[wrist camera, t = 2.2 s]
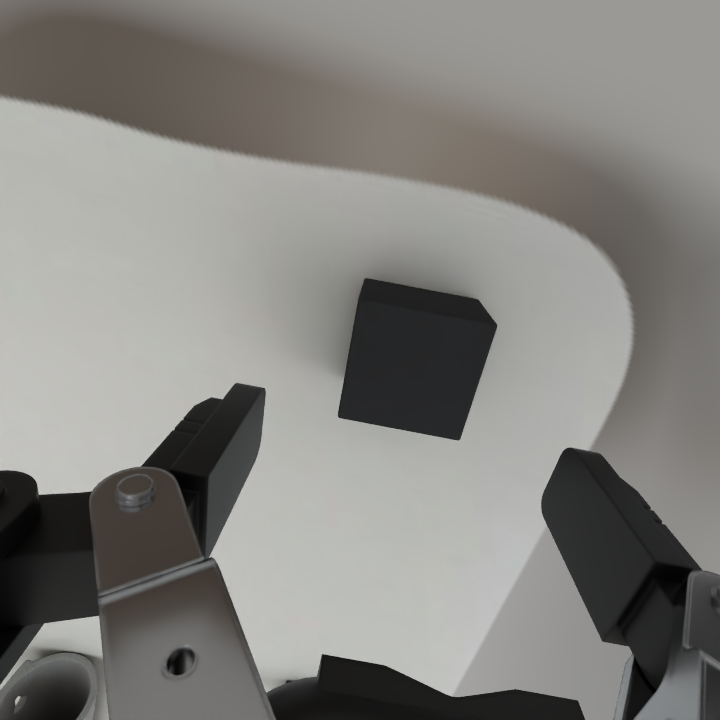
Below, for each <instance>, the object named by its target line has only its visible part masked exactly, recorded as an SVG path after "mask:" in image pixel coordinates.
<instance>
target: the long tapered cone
mask: <svg viewBox="0 0 720 720" xmlns="http://www.w3.org/2000/svg"><path fill="white" fill-rule="evenodd" d="M97 689H98V676H97V672H96V669H95V667H94V665H93V664H92V662H91V661H90V660H88V659H87V658H86V657H84V656H82V655H79V654H76V653H58V654H53V655H50V656H47V657H44V658H41V659H39V660H37V661H30V660H26V661H25V662H24V663H23V664H22V665H21V666H20V668H19V669H18V670H17V671H16V672H15V674H14V675H13V676H12V677H11V678H10V679H9V681H8V682H7V683H6V684H5V685H4V687H3V688H2V689H1V690H0V720H93V719H94V711H95V705H96V698H97ZM18 696H21V697H20V700H19V702H18V703H17V705H16V706H15V699H16V698H17V697H18Z"/></svg>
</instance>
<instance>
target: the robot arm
mask: <svg viewBox="0 0 720 720" xmlns="http://www.w3.org/2000/svg"><path fill="white" fill-rule="evenodd" d="M265 396H266V392H265V388H261V387H256V386H251V385H245V384H240V383H236V384H234V386H233V387H232V388H231V389H230V391H229V392H228V393H227V395H226V396H225V397H224V399H223V400H222V399H217V398H212V397H211V398H209V399H207V400H205V401H203V402H201V403H199V404H197V405H195V406H194V407H193V408H192V409H191V410H190V411H189V413H188V414H187V415H186V416H185V417H184V420H182V421H181V422H180V423H179V424H178V425H177V426H176V427H175V430H174V431H172V432H171V433H170V434H169V435H168V436H167V438H166V439H165V440H164V441H163V442H162V443H161V444H160V446H159V447H158V448H157V449H156V450H155V451H154V452H153V454H152V455H151V456H150V457H149V458H148V459H147V460H146V461H145V463H144V464H143V465H142V466H141V467H135V468H129V469H126V470H122V471H119V472H117V473H114V474H112V475H110V476H109V477H107V478H105V479H104V480H102V481H101V482H100V483H99V484H98V485H97V486H96V487H95V488H94V489H93V491H92V492H83V493H66V494H48V495H39V493H38V487H37V483H36V481H35V480H34V479H33V477H31V476H30V475H28V474H25V473H23V472H18V471H9V470H6V471H0V684H1V683H2V682H3V680H4V679H5V677H6V676H7V675H8V673H9V672H10V670H11V669H12V668H13V666H14V665H15V663H16V662H17V661H18V659H19V658H20V656H21V655H22V654H23V652H24V651H25V649H26V648H27V647H28V645H29V644H30V642H31V641H32V640H33V638H34V637H35V635H36V634H37V633H38V631H39V630H40V628H41V627H42V626H43V624H44V623H49V622H56V621H64V620H71V619H78V618H85V617H92V616H99V618H100V629H101V639H102V650H103V660H104V671H105V682H106V692H107V703H108V713H109V720H585V718H584V716H583V713H582V710H581V708H580V705H579V702H578V701H577V700H571V699H566V698H561V697H555V696H549V695H544V694H539V693H533V692H527V691H522V690H516V689H515V690H507V691H501V692H494V693H486V694H480V695H472V696H465V697H451V696H448V695H446V694H444V693H442V692H440V691H437V690H435V689H433V688H431V687H429V686H427V685H425V684H423V683H421V682H419V681H416V680H414V679H412V678H410V677H408V676H406V675H404V674H402V673H400V672H398V671H396V670H393V669H391V668H389V667H387V666H384V665H379V664H373V663H368V662H362V661H357V660H351V659H346V658H340V657H335V656H329V655H324V654H322V657H321V662H320V666H319V670H318V674H317V677H311V678H303V679H300V680H296V681H293V682H289V683H286V684H284V685H282V686H279V687H277V688H275V689H272V690H271V691H269V692H267V693H266V691H265V689H264V686H263V683H262V681H261V678H260V675H259V673H258V670H257V667H256V665H255V662H254V659H253V657H252V654H251V651H250V649H249V646H248V643H247V641H246V638H245V635H244V633H243V630H242V627H241V625H240V622H239V619H238V616H237V614H236V611H235V608H234V606H233V603H232V600H231V598H230V595H229V592H228V590H227V587H226V584H225V582H224V579H223V576H222V574H221V571H220V569H219V566H218V564H217V562H216V561H215V559H214V558H212V557H211V558H209V556H210V554H211V552H212V550H213V548H214V546H215V544H216V542H217V540H218V538H219V535H220V533H221V531H222V529H223V527H224V525H225V523H226V521H227V519H228V517H229V515H230V513H231V510H232V508H233V506H234V504H235V502H236V500H237V498H238V496H239V494H240V492H241V490H242V488H243V486H244V483H245V481H246V479H247V477H248V475H249V473H250V471H251V469H252V467H253V465H254V463H255V460H256V458H257V455H258V451H259V447H260V442H261V435H262V425H263V416H264V406H265ZM541 508H542V514H543V517H544V519H545V521H546V524H547V526H548V528H549V530H550V532H551V534H552V536H553V538H554V540H555V543H556V545H557V547H558V549H559V551H560V553H561V555H562V557H563V559H564V561H565V563H566V566H567V568H568V570H569V572H570V574H571V576H572V578H573V580H574V582H575V585H576V587H577V589H578V591H579V593H580V595H581V597H582V599H583V601H584V603H585V606H586V608H587V610H588V612H589V614H590V616H591V618H592V620H593V622H594V625H595V627H596V629H597V631H598V633H599V635H600V637H601V639H602V641H603V642H608V643H613V644H619V645H624V646H629V647H630V649H631V651H632V655H631V656H630V658H629V659H628V660H627V662H626V664H625V667H624V672H623V676H622V681H621V686H620V690H619V695H618V700H617V704H616V709H615V714H614V719H613V720H720V575H718V574H715V573H712V572H708V571H703V570H702V569H701V568H700V567H699V565H698V564H697V563H696V562H695V561H694V559H693V558H692V557H691V556H690V555H689V553H688V552H687V551H686V550H685V549H684V547H683V546H682V545H681V544H680V542H679V541H678V540H677V539H676V538H675V536H674V535H673V534H672V533H671V531H670V530H669V529H668V528H667V527H666V525H664V524H662V521H661V519H660V518H659V517H658V516H657V514H656V513H655V512H654V511H652V510H650V508H651V507H650V506H649V505H648V504H647V502H646V501H645V500H644V499H643V497H642V496H641V495H640V494H639V493H638V491H636V490H635V489H634V488H633V487H631V486H630V485H629V484H628V483H626V482H625V481H624V480H622V479H621V478H620V477H619V476H618V474H617V473H616V472H615V471H614V469H613V468H612V467H611V466H610V464H609V463H608V462H607V461H606V459H605V458H604V457H603V456H602V455H601V454H599V453H596V452H591V451H586V450H580V449H575V448H567V449H565V450H564V451H563V452H562V454H561V456H560V458H559V460H558V462H557V464H556V467H555V469H554V471H553V473H552V475H551V477H550V480H549V482H548V484H547V486H546V488H545V490H544V493H543V496H542V502H541Z"/></svg>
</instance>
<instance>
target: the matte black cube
mask: <svg viewBox="0 0 720 720" xmlns="http://www.w3.org/2000/svg"><path fill="white" fill-rule="evenodd" d="M496 328H497V324H496V323H495V321H494V320H493V319H492V317H491V316H490V315H489V313H488V312H487V311H486V309H485V308H484V307H483V305H482V304H481V303H480V301H479V300H477V299H473V298H467V297H462V296H457V295H452V294H446V293H441V292H436V291H431V290H425V289H420V288H415V287H410V286H404V285H399V284H394V283H388V282H383V281H378V280H373V279H367V278H366V279H365V280H364V282H363V286H362V289H361V292H360V296H359V299H358V304H357V309H356V315H355V321H354V326H353V332H352V338H351V343H350V349H349V355H348V360H347V366H346V372H345V377H344V383H343V389H342V394H341V400H340V406H339V411H338V417H339V418H343V419H348V420H353V421H358V422H364V423H369V424H374V425H380V426H385V427H390V428H395V429H401V430H406V431H411V432H416V433H422V434H427V435H432V436H438V437H443V438H448V439H453V440H460V438H461V435H462V432H463V429H464V426H465V423H466V420H467V417H468V414H469V411H470V408H471V404H472V401H473V398H474V395H475V392H476V389H477V386H478V383H479V380H480V377H481V374H482V371H483V368H484V365H485V362H486V359H487V356H488V353H489V350H490V347H491V344H492V340H493V337H494V334H495V331H496Z"/></svg>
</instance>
